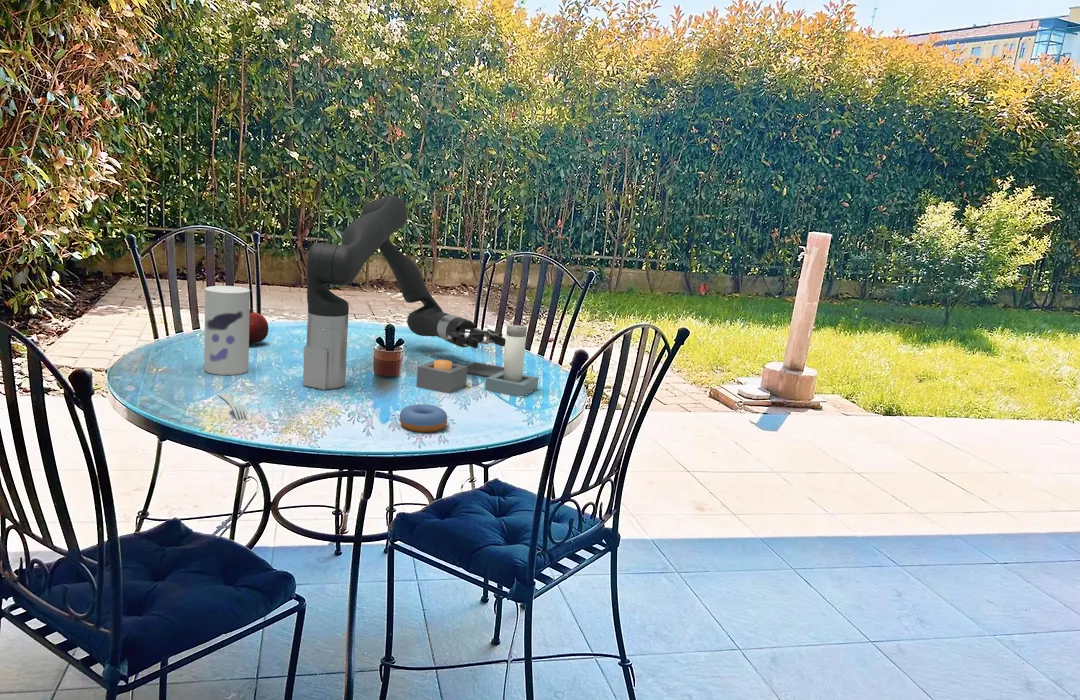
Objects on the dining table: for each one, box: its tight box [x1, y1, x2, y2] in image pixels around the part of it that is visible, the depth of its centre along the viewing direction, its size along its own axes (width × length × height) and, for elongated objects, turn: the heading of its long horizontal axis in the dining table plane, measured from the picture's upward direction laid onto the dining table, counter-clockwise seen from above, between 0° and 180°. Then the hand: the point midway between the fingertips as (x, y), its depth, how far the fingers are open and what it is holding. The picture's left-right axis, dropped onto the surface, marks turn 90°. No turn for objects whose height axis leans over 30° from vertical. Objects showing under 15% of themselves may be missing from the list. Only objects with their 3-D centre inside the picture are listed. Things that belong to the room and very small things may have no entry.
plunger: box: [433, 359, 453, 371], centre depth 206 cm, size 4×4×6 cm
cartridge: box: [503, 324, 528, 383], centre depth 208 cm, size 5×5×16 cm
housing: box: [484, 371, 539, 397], centre depth 209 cm, size 10×10×3 cm
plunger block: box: [415, 360, 468, 394], centre depth 206 cm, size 9×9×5 cm
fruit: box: [249, 308, 269, 345], centre depth 229 cm, size 11×10×10 cm
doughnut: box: [399, 403, 448, 433], centre depth 174 cm, size 10×10×5 cm
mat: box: [466, 362, 504, 378], centre depth 225 cm, size 11×11×1 cm
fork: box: [217, 392, 249, 422], centre depth 176 cm, size 3×21×3 cm, turn 31°
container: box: [203, 285, 251, 376], centre depth 200 cm, size 10×10×20 cm
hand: (490, 343), depth 215 cm, fingers open, 8 cm apart
